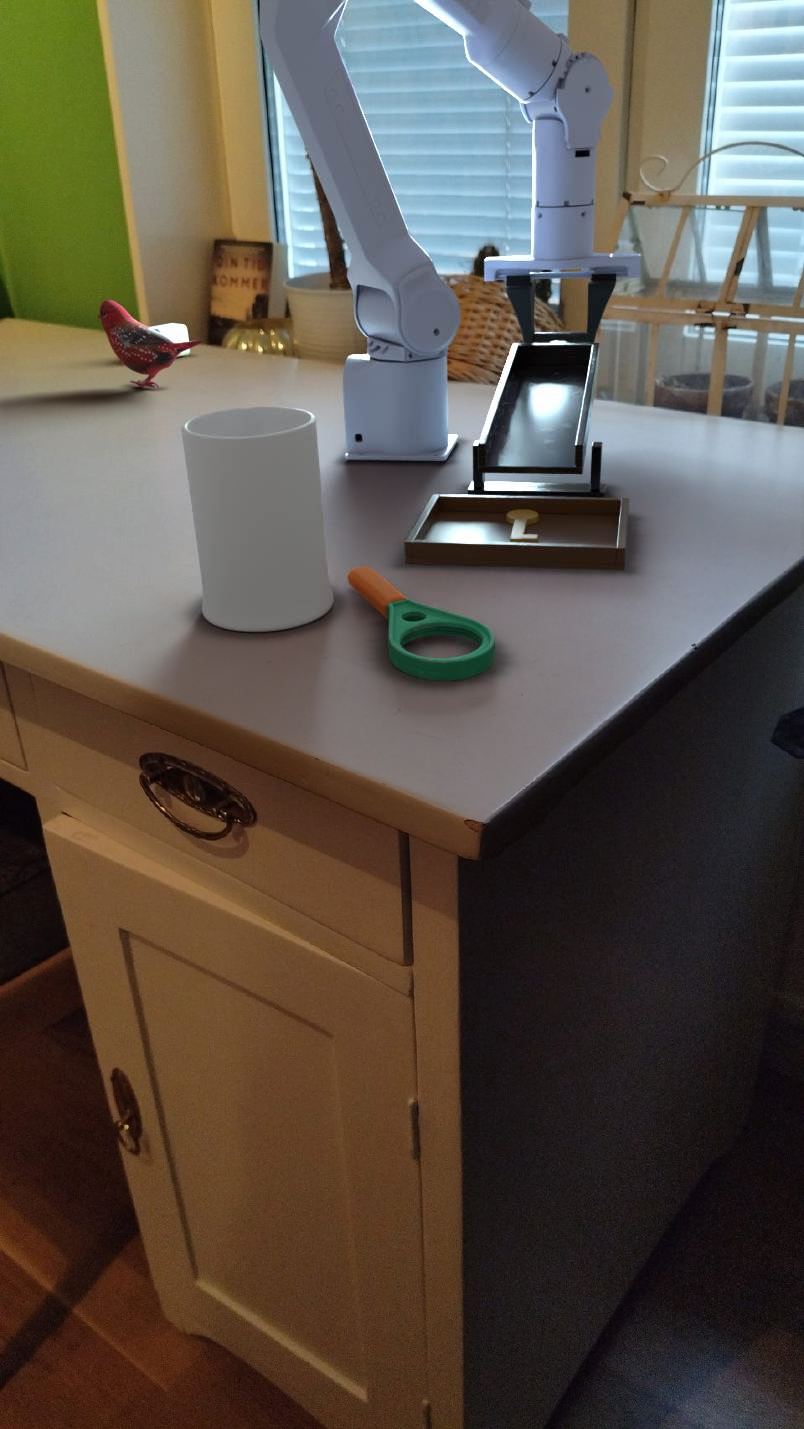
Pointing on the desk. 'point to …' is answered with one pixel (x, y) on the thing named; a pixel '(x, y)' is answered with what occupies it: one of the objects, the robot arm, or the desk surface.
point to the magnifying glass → (423, 630)
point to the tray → (564, 532)
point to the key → (522, 525)
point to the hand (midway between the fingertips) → (559, 357)
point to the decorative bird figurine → (139, 343)
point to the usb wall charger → (174, 333)
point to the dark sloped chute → (542, 407)
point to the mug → (258, 517)
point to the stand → (541, 488)
